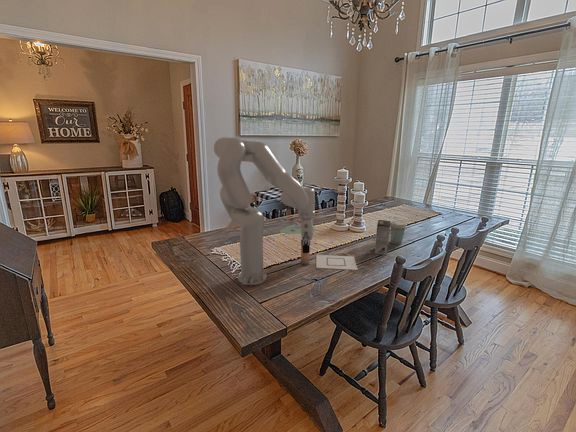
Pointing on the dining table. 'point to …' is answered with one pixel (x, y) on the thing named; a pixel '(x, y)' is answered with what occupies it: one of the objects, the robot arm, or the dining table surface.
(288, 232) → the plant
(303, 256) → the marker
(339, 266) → the paper sheet
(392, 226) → the coffee cup
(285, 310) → the dining table surface
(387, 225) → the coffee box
